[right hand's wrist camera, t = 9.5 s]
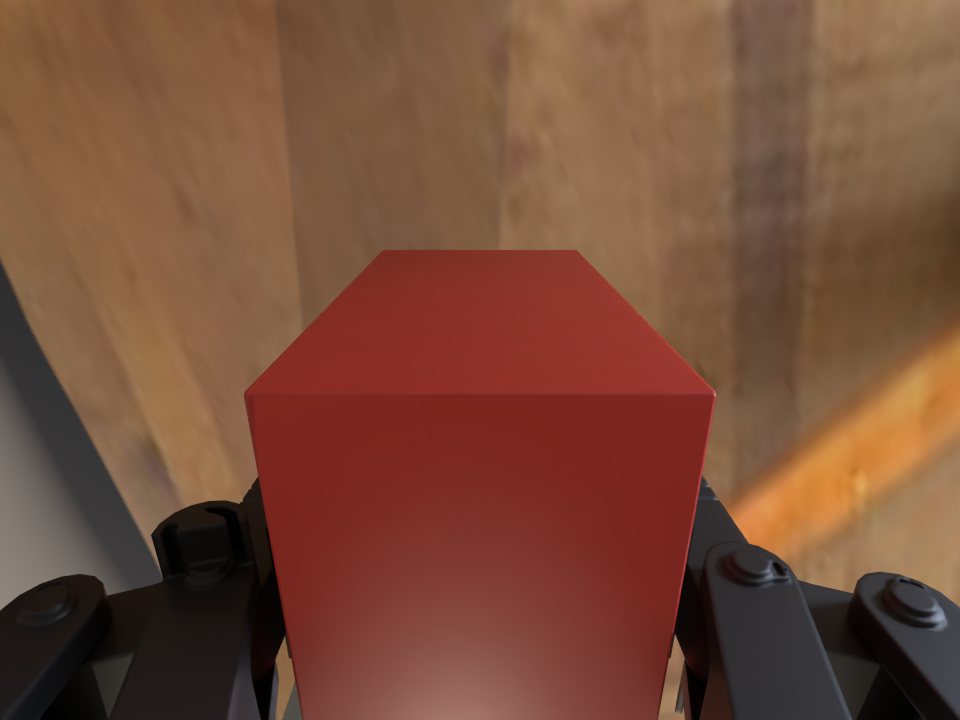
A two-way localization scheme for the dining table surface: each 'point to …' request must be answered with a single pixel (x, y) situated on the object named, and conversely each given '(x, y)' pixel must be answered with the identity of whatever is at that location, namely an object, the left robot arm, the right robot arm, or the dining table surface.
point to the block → (480, 492)
